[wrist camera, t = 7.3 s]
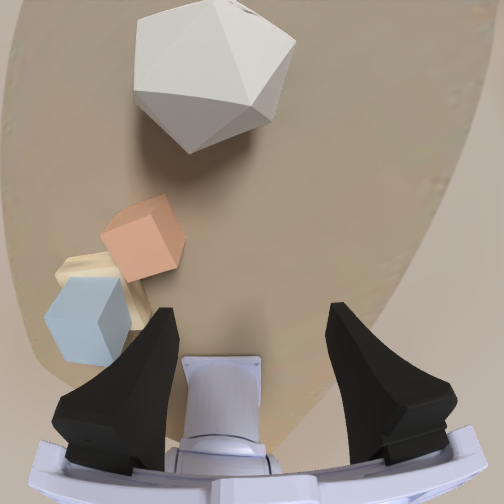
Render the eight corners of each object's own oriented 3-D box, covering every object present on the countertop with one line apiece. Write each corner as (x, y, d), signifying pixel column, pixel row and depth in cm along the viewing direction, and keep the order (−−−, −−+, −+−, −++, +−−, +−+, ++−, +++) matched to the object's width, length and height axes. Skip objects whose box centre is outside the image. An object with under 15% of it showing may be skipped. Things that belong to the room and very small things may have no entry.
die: (293, 117, 20) (349, 19, 10) (198, 199, 18) (195, 112, 9) (212, 51, 20) (223, -52, 10) (117, 117, 18) (75, 15, 8)
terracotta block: (186, 239, 24) (177, 267, 20) (142, 254, 24) (127, 282, 21) (165, 192, 22) (150, 214, 18) (119, 210, 22) (100, 234, 19)
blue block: (132, 322, 24) (116, 367, 20) (86, 319, 24) (66, 361, 20) (119, 277, 22) (97, 322, 18) (70, 276, 22) (43, 317, 17)
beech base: (153, 307, 27) (145, 329, 25) (95, 311, 27) (84, 332, 25) (130, 245, 24) (119, 265, 21) (69, 255, 24) (54, 274, 22)
